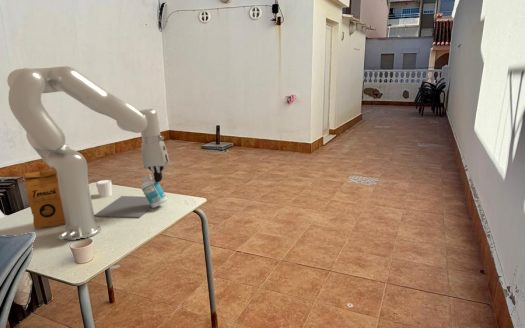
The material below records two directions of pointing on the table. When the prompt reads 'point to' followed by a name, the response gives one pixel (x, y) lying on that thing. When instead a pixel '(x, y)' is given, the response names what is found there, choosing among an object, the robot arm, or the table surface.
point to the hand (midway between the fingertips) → (158, 180)
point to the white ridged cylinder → (104, 188)
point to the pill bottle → (153, 191)
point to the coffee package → (44, 198)
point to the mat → (126, 207)
